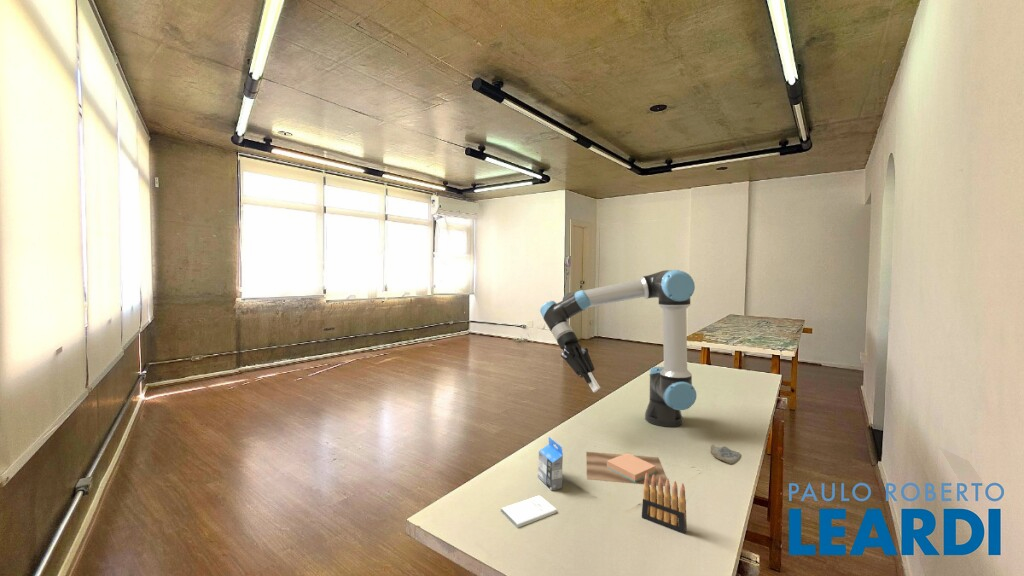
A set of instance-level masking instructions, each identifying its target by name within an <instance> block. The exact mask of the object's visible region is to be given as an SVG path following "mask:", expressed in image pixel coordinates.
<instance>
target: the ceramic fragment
mask: <svg viewBox="0 0 1024 576" xmlns="http://www.w3.org/2000/svg"><path fill="white" fill-rule="evenodd" d="M710 454H711V455H712V457H713V458H717V460H720V461H723V462H725V463H726V464H728V465H735V464H736V463H738V462H739V461H740V460H741V457H742V454H741V453H740V452H739V451H735V450H732V449H730V448H728V447H727V446H716V445H714V444H711V445H710Z"/></svg>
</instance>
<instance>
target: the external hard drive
mask: <svg viewBox="0 0 1024 576" xmlns="http://www.w3.org/2000/svg"><path fill="white" fill-rule="evenodd" d="M500 512H501V513H502V515H503V516H505V518H506V519H508V521H509V522H510V523H512V524H513V525H514V526H515V528H517V529H519V528H521V527H523V526H526V525H528V524H531V523H534V522H537V521H539V520H541V519H544V518H547V517H549V516H552V515H554V514H558V511H557V508H556V507H555V506H554V505H553V504H551V503H550V502H549V501H548V500H546V499H545V498H544V497H542V496H541V495H536V496H533V497H530V498H528V499H524V500H522V501H519V502H514V503H513V504H508V505H507V506H504V507H501V508H500Z"/></svg>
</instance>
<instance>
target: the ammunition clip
mask: <svg viewBox="0 0 1024 576" xmlns="http://www.w3.org/2000/svg"><path fill="white" fill-rule="evenodd" d="M642 489H643V490H642V491H643V492H642V493H643V495H642V496H643V497H642V505H641V507H642V508H641V518H642V519H643V520H646V521H649V522H651V523H654V524H657V525H659V526H661V527H665V528H667V529H670V530H673V531H675V532H677V533H680V534H683V535H686V534H687V533H686V532H687V529H688V528H687V500H686V488H685V485H684V483H683V482H682V483H681V485H680V489H679V488H678V484H677V482H676V480H674V481H673V484H672V491H671V483H670V480H669V478H667V480H666V484H665V486H663V481H662V477H661V476H660V478H659V482H658V486H656V478H655V475H654V474H653V476H652V480H651V485H649V475H648V473H646V475H645V481H644V484H643V488H642ZM678 489H679V491H678ZM678 492H679V494H678Z"/></svg>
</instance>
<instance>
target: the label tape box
mask: <svg viewBox="0 0 1024 576" xmlns="http://www.w3.org/2000/svg"><path fill="white" fill-rule="evenodd" d="M563 455H564V453H563V447H562V446H561V445H560V444H559V443H558V442H556V441H555V440H554V439H553V438H551V437H550V436H548V444H547V445H546V446H544V447H543V448H541V449H539V450H538V465H537V466H538V469H537V477H538V478H539V480H541V482H543V483H544V485H546V486H547V487H548V488H549V490H550V491H555V490H560V489H562V488H563V459H564V458H563V457H564V456H563Z"/></svg>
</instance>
